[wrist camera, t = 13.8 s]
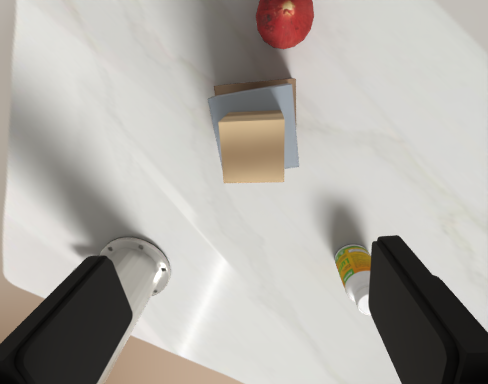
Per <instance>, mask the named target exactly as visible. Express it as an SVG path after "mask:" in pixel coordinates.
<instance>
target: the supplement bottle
mask: <svg viewBox="0 0 488 384" xmlns="http://www.w3.org/2000/svg"><path fill="white" fill-rule="evenodd" d="M335 263H336V266H337V269H338V272H339V274H340V277H341V280H342V283H343V285H344V288H345V291H346V293H347V295H348V297H349V298H350V299H351V300H353V301H354V302H356V305H357V307H358V309H359V310H360V311H361V312H362V313H363V314H366V315H371V313H370V310H369V306H368V298H369V282H370V267H371V256H370V254H369V252H368V251H367V250H366V249H365V248H364V247H363V246H360V245H356V244H351V245H347V246H344V247H342V248H341V249H340V250H339V251H338V252H337V253H336V256H335Z"/></svg>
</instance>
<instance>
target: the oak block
mask: <svg viewBox="0 0 488 384" xmlns="http://www.w3.org/2000/svg"><path fill="white" fill-rule="evenodd" d="M218 124H219V135H220V146H221V157H222V168H223V180H224V183H260V182H284V141H285V119H284V116H283V114H282V111H281V110H269V111H246V112H229V113H228V114H227V115H226V116H224V117H223V118H222V119H221V120H220V121H219V122H218Z"/></svg>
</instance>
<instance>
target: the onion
mask: <svg viewBox="0 0 488 384" xmlns="http://www.w3.org/2000/svg"><path fill="white" fill-rule="evenodd" d="M313 18H314V12H313V2H312V0H260V2H259V5H258V9H257V13H256V21H257V29H258V32H259V33H260V35H261V37H262V38H263V40H264V41H265V42H266V43H268V44H269V45H271V46H272V47H274V48H280V49H287V48H290V47H294V46H296V45H297V44H298V43H300V42H301V41H303V40H304V39H305V37H306V36H307V34H308V33H309V31H310V30H311V26H312V22H313Z"/></svg>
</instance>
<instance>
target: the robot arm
mask: <svg viewBox="0 0 488 384" xmlns="http://www.w3.org/2000/svg"><path fill="white" fill-rule="evenodd" d="M169 279H170V266H169V263H168V261H167V259H166V257H165V256H164V254H163V253H162V252H161V251H160V250H159V249H158V248H156V247H155V246H154V245H152V244H150V243H148V242H146V241H144V240H141V239H137V238H130V237H125V238H119V239H116V240H113V241H112V242H110V243H109V244H108V245H107V246H106V247H104V249H103V250H102V251H101V253H100V256H90V257H87V258H86V259H85V260H84V261H83V262H82V263H81V264H80V265H79V266H78V267H77V268H75V269H74V270H73V272H72V273H71V274H70V275H69V276H68V277H67V278H66V279H65V280H64V281H63V282H62V283H61V284H60V285H59V286H58V287H57V288H56V289H55V290H54V291H53V292H52V293H51V294H50V295H49V296H48V297H47V298H46V299H45V300H44V301H43V302H42V303H41V304H40V305H39V306H38V307H37V308H36V309H35V310H34V311H33V312H32V313H31V314H30V315H29V316H28V317H27V318H26V319H25V320H24V321H23V322H22V323H21V324H20V325H19V326H18V327H17V328H16V329H15V330H14V331H13V332H12V333H11V334H10V335H9V336H8V337H7V338H6V339H5V340H4V341H3V342H2V343H1V344H0V384H104V383H105V381H106V380H107V378H108V376H109V374H110V372H111V370H112V368H113V366H114V364H115V363H116V361H117V359H118V357H119V355H120V353H121V351H122V349H123V347H124V345H125V344H126V342H127V340H128V338H129V336H130V334H131V333H132V331H133V329H134V327H135V325H136V323H137V321H138V319H139V318H140V316H141V314H142V312H143V310H144V308H145V306H146V304H147V303H148V301H149V299H150V297H151V296H154V295H156V294H158V293H160V292H161V291H162V290H164V288H165V287H166V286H167V284H168V282H169ZM368 306H369V310H370V313H371V316H372V318H373V320H374V323H375V325H376V327H377V329H378V332H379V334H380V336H381V338H382V340H383V343H384V345H385V347H386V349H387V352H388V354H389V356H390V358H391V361H392V363H393V365H394V367H395V369H396V372H397V374H398V376H399V378H400V381H401V383H402V384H488V332H487V331H486V330H485V329H484V328H483V327H482V326H481V324H480V323H479V322H478V321H477V320H476V319H475V318H474V316H473V315H472V314H471V313H470V312H469V311H468V310H467V308H466V307H465V306H464V305H463V304H462V303H461V302H460V300H459V299H458V298H457V297H456V296H455V295H454V294H453V292H452V291H451V290H450V289H449V288H448V287H447V286H446V285H445V283H444V282H443V281H442V280H441V279H440V278H439V277H437V276H434V275H432V274H431V273H430V271H429V270H428V269H427V268H426V267H425V266H424V264H423V263H422V262H421V261H420V260H419V259H418V257H417V256H416V255H415V254H414V253H413V251H412V250H411V249H410V248H409V247H408V246H407V244H406V243H405V242H404V241H403V240H402V239H401V237H399V236H397V235H396V236H381V237H378V239H377V241H374V242H373V243H372V252H371V267H370V282H369V298H368Z"/></svg>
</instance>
